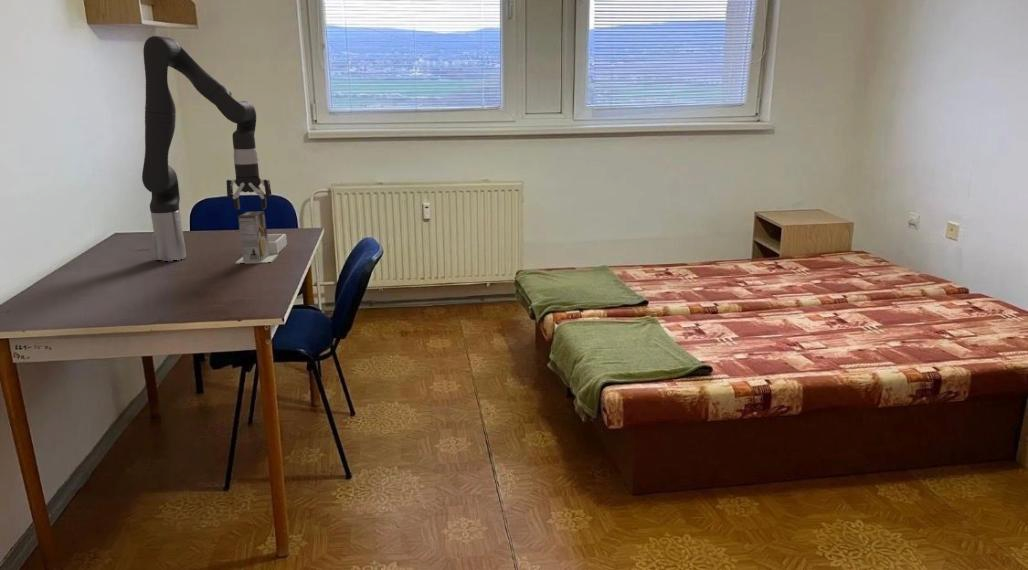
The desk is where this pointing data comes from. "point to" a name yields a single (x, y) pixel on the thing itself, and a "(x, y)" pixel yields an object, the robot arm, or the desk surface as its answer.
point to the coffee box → (253, 236)
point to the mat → (266, 260)
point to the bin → (276, 242)
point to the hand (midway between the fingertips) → (250, 209)
